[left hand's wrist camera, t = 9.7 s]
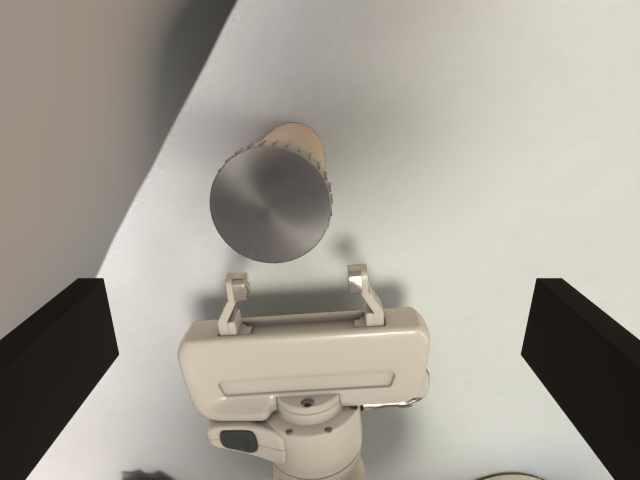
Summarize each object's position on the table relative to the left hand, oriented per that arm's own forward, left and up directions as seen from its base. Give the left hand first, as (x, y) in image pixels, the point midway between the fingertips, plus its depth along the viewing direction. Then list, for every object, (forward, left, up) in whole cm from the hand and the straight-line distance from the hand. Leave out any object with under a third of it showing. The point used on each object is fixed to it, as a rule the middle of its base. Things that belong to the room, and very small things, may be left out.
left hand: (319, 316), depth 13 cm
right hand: (+7, +2, -18) cm, 19 cm away
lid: (0, -3, -8) cm, 9 cm away
